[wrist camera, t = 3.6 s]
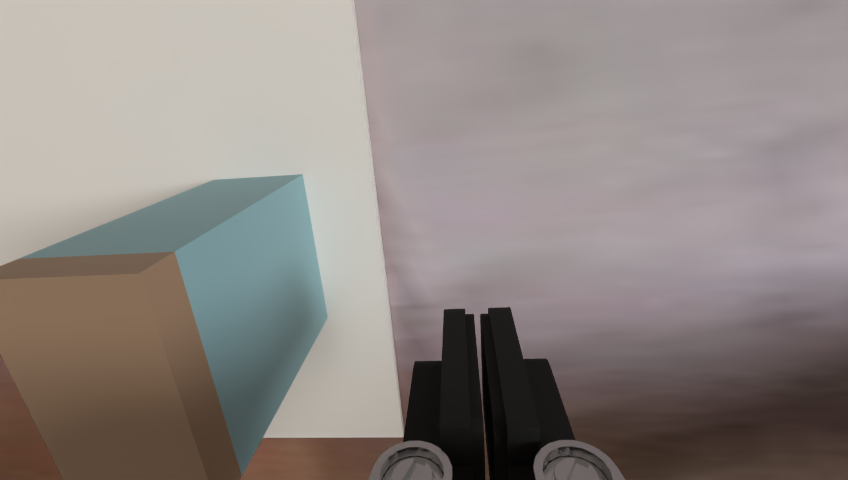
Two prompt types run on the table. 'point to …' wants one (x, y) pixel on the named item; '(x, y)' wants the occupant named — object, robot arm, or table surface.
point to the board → (208, 154)
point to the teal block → (166, 331)
